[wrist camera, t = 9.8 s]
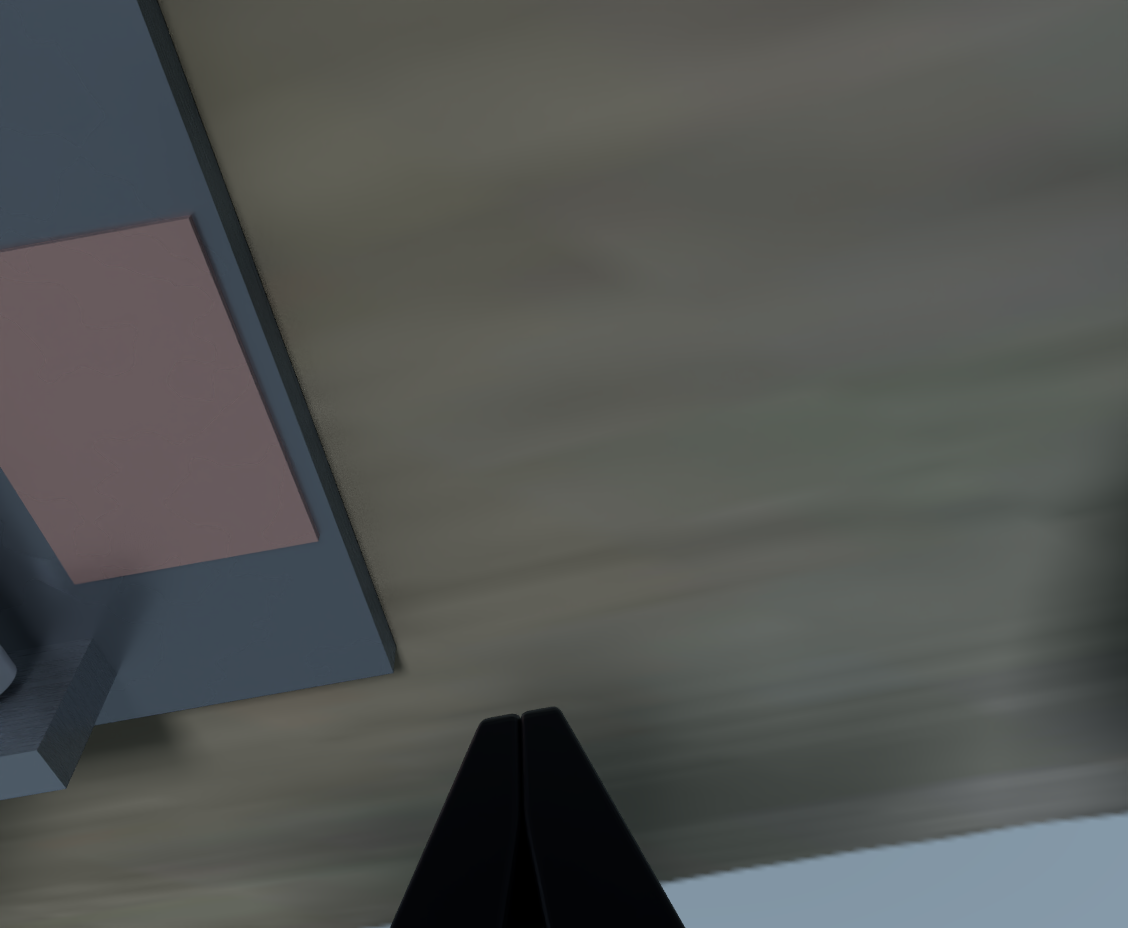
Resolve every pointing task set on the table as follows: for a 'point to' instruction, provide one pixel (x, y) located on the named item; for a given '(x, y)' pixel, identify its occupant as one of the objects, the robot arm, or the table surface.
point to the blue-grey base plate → (146, 414)
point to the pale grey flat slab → (6, 670)
